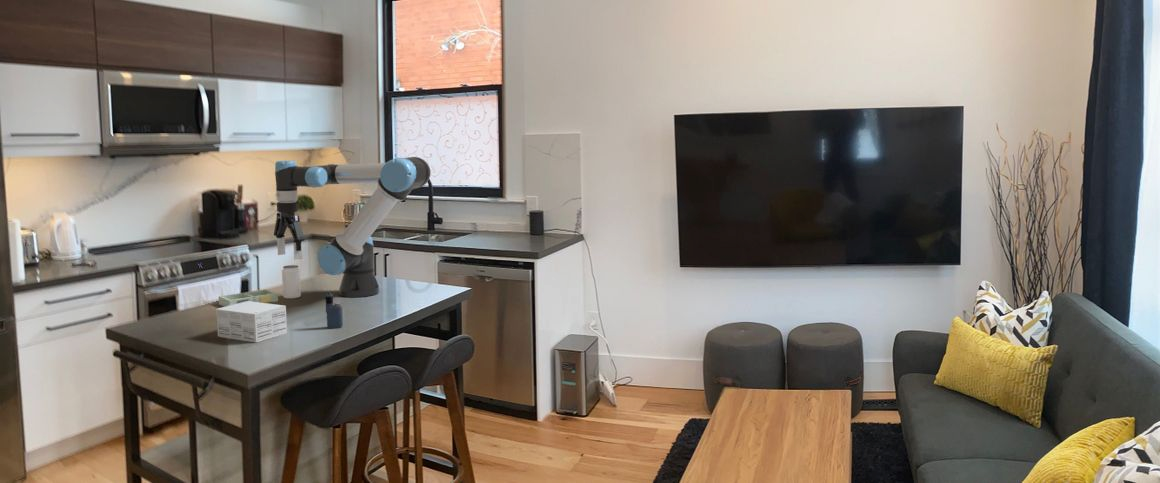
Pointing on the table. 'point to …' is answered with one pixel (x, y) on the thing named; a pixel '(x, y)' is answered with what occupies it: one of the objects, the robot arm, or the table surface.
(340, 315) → the vaping device
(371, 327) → the table surface
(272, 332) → the supplement box
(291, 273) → the can
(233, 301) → the socket board
